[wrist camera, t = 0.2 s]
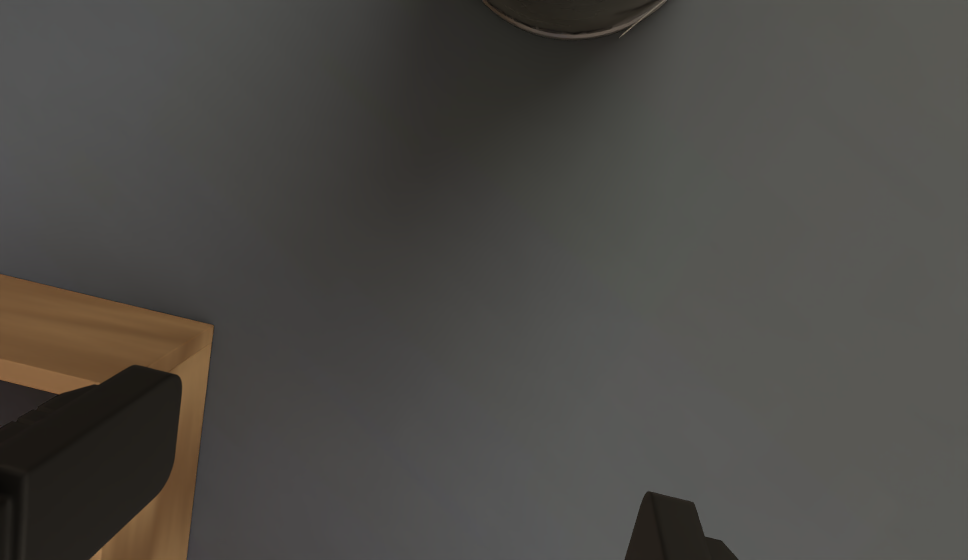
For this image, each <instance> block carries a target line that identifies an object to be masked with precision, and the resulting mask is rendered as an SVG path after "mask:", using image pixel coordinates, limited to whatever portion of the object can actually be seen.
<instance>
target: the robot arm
mask: <svg viewBox="0 0 968 560" xmlns="http://www.w3.org/2000/svg"><path fill="white" fill-rule="evenodd" d="M481 1H482V2H484V3H485V4H486V5H487V6H488V7H489V8H490V9H491V10H492V11H493V12H495V13H496V14H497V15H498V16H500V17H501V18H502V19H504V20H506V21H507V22H509V23H510V24H512V25H514V26H516V27H518V28H520V29H522V30H524V31H527V32H529V33H532V34H535V35H538V36H542V37H546V38H552V39H558V40H587V39H593V38H599V37H603V36H607V35H611V34H614V33H616V32H619V31H622V30H624V29H626V28H628V27H630V26H632V27H633V26H635V25H636V24H637V23H638V22H640V21H641V20H643V19H645V18H646V17H648V16H649V15H651V14H652V13H653V12H655V11H656V10H657V9H659V8H660V7H661V6H662V5H663V4H664V3H665V2H667V1H668V0H481ZM632 27H630V28H629V29H628V30H627V31H629V30H630V29H631V28H632ZM627 31H626V32H627ZM626 32H624V33H623V34H622V35H624V34H625V33H626ZM622 35H621V36H622ZM621 36H620V37H621ZM620 37H619V38H620ZM181 398H182V381H181V378H180V377H179V376H178V375H177V374H173V373H168V372H164V371H160V370H156V369H152V368H148V367H144V366H140V365H131V366H129V367H128V368H126V369H124V370H123V371H121V372H119V373H117V374H116V375H114V376H112V377H111V378H109V379H107V380H106V381H104V382H102V383H101V384H99V385H96V384H93V385H90V386H86V387H82V388H79V389H75V390H72V391H68V392H64V393H61V394H60V395H58V396H56V397H54V398H53V399H51V400H49V401H47V402H46V403H44V404H42V405H40V406H39V407H38V409H37V410H31V411H30V412H28V413H26V414H24V415H23V416H21V417H19V418H18V420H17V422H14V421H12V422H10V423H9V424H7V425H5V426H3V427H2V428H0V560H90V559H91V558H92V557H93V556H94V555H95V554H96V553H97V552H98V551H99V550H100V549H101V548H102V547H103V546H104V545H105V544H106V543H108V542H109V541H110V540H111V539H112V538H113V537H114V536H115V535H116V534H117V533H118V532H119V531H120V530H121V529H122V528H123V527H124V526H125V525H127V524H128V523H129V522H130V521H131V520H132V519H133V518H134V517H135V516H136V515H137V514H138V513H139V512H140V511H141V510H142V509H143V508H144V507H146V506H147V505H148V504H149V503H150V502H151V501H152V500H153V499H154V498H155V497H156V496H157V495H158V494H159V493H160V492H161V490H162V489H163V487H164V486H165V484H166V482H167V481H168V478H169V476H170V474H171V471H172V468H173V465H174V460H175V453H176V444H177V435H178V426H179V416H180V407H181ZM625 560H738V559H737V557H736V556H735V555H734V554H733V553H732V552H731V551H730V550H729V548H728V547H727V546H726V545H725V544H724V543H723V542H722V541H721V540H717V539H713V538H709V537H705V536H704V533H703V530H702V526H701V523H700V520H699V517H698V513H697V510H696V507H695V504H694V503H693V502H691V501H686V500H682V499H678V498H674V497H670V496H666V495H662V494H658V493H654V492H650V491H648V492H647V493H646V494H645V496H644V498H643V500H642V503H641V506H640V509H639V512H638V516H637V519H636V523H635V526H634V529H633V533H632V536H631V540H630V543H629V546H628V550H627V553H626V557H625Z"/></svg>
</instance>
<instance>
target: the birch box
mask: <svg viewBox="0 0 968 560" xmlns="http://www.w3.org/2000/svg"><path fill="white" fill-rule="evenodd" d="M213 329H214V325H211V324H206V323H202V322H198V321H194V320H190V319H186V318H181V317H177V316H173V315H169V314H165V313H161V312H156V311H152V310H148V309H144V308H140V307H136V306H131V305H127V304H123V303H119V302H115V301H111V300H106V299H102V298H98V297H94V296H90V295H85V294H81V293H77V292H73V291H69V290H65V289H60V288H56V287H52V286H48V285H44V284H40V283H35V282H31V281H27V280H23V279H19V278H15V277H10V276H6V275H2V274H0V380H3V381H7V382H11V383H15V384H19V385H23V386H27V387H31V388H35V389H39V390H43V391H47V392H51V393H55V394H59V395H60V394H61V393H64V392H68V391H72V390H75V389H79V388H82V387H86V386H90V385H93V384H96V385H99V384H101V383H102V382H104V381H106V380H107V379H109V378H111V377H112V376H114V375H116V374H117V373H119V372H121V371H123V370H124V369H126V368H128V367H129V366H131V365H140V366H144V367H148V368H152V369H156V370H160V371H164V372H168V373H173V374H177V375H178V376H179V377H180V378H181V381H182V398H181V407H180V416H179V426H178V435H177V444H176V453H175V460H174V465H173V468H172V471H171V474H170V476H169V478H168V481H167V482H166V484H165V486H164V487H163V489H162V490H161V492H160V493H159V494H158V495H157V496H156V497H155V498H154V499H153V500H152V501H151V502H150V503H149V504H148V505H147V506H146V507H144V508H143V509H142V510H141V511H140V512H139V513H138V514H137V515H136V516H135V517H134V518H133V519H132V520H131V521H130V522H129V523H128V524H127V525H125V526H124V527H123V528H122V529H121V530H120V531H119V532H118V533H117V534H116V535H115V536H114V537H113V538H112V539H111V540H110V541H109V542H108V543H106V544H105V545H104V546H103V547H102V548H101V549H100V550H99V551H98V552H97V553H96V554H95V555H94V556H93V557H92V558H91V559H90V560H186V558H187V550H188V541H189V533H190V524H191V516H192V507H193V499H194V490H195V482H196V473H197V465H198V456H199V448H200V439H201V430H202V422H203V413H204V405H205V396H206V388H207V379H208V371H209V362H210V354H211V345H212V343H211V342H212V337H213Z"/></svg>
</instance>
